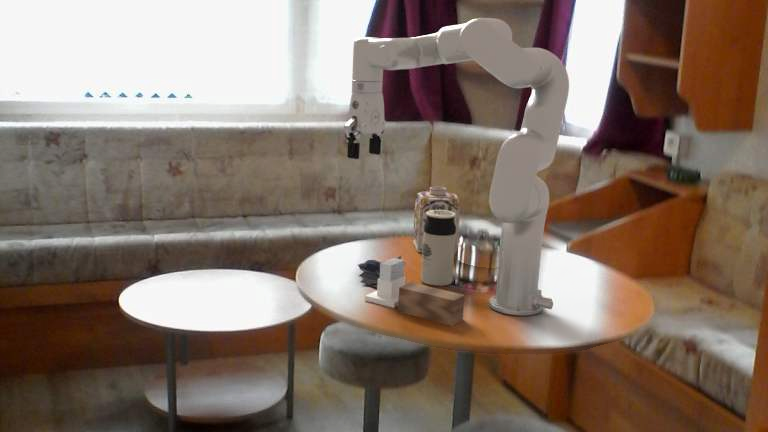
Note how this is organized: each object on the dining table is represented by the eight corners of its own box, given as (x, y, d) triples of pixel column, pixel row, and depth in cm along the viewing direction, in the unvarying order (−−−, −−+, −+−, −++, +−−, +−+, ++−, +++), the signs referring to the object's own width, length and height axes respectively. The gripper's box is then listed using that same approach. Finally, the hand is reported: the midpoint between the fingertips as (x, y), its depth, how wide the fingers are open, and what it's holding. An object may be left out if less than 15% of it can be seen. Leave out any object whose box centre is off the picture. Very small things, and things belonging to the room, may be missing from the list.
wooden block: (462, 320, 196) (464, 294, 195) (452, 326, 192) (454, 300, 190) (408, 306, 203) (410, 282, 202) (397, 312, 199) (399, 287, 197)
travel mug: (446, 276, 227) (450, 209, 223) (456, 286, 219) (461, 216, 215) (416, 277, 225) (420, 209, 221) (426, 287, 217) (430, 217, 213)
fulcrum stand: (415, 297, 209) (417, 260, 207) (393, 307, 201) (395, 269, 199) (387, 290, 213) (389, 254, 211) (364, 300, 205) (366, 263, 203)
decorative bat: (368, 242, 239) (404, 248, 238) (366, 256, 240) (402, 263, 239) (346, 273, 211) (387, 280, 210) (344, 289, 212) (384, 296, 211)
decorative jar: (416, 253, 247) (420, 191, 243) (411, 242, 258) (415, 182, 254) (458, 254, 248) (462, 192, 244) (451, 243, 260) (455, 184, 255)
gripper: (360, 91, 207) (357, 162, 211) (398, 87, 222) (394, 154, 226) (334, 88, 211) (331, 158, 215) (373, 85, 225) (370, 150, 229)
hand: (364, 156), depth 220 cm, fingers open, 9 cm apart
